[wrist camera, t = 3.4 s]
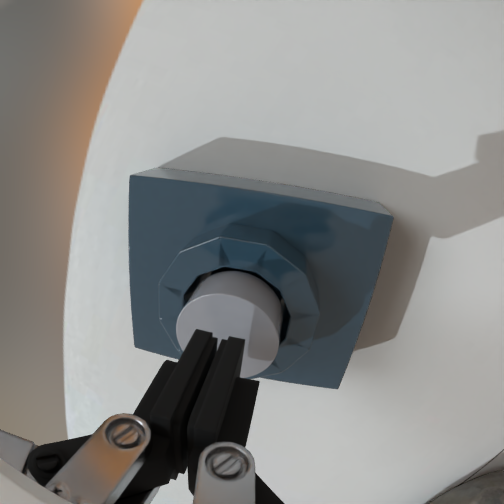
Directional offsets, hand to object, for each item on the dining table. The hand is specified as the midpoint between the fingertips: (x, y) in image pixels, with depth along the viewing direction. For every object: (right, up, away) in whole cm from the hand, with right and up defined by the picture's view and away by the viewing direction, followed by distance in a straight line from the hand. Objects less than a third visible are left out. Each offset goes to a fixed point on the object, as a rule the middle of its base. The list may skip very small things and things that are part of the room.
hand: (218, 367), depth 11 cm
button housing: (+1, +3, +7) cm, 8 cm away
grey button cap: (0, +1, +3) cm, 4 cm away
